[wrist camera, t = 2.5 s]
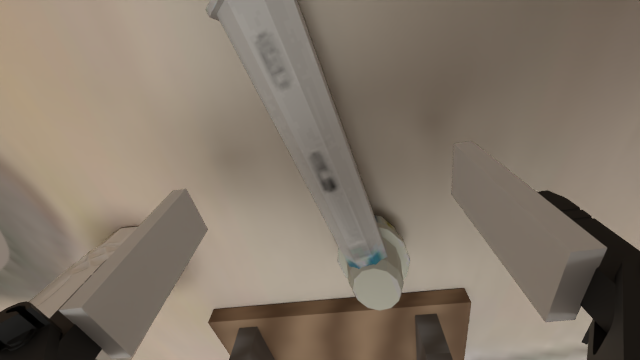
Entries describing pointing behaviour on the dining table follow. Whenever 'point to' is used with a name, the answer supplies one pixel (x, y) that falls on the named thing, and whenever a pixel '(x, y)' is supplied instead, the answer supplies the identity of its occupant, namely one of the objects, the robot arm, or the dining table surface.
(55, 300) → the white cup
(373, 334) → the hook board
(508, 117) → the dining table surface
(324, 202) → the grey handled tool
